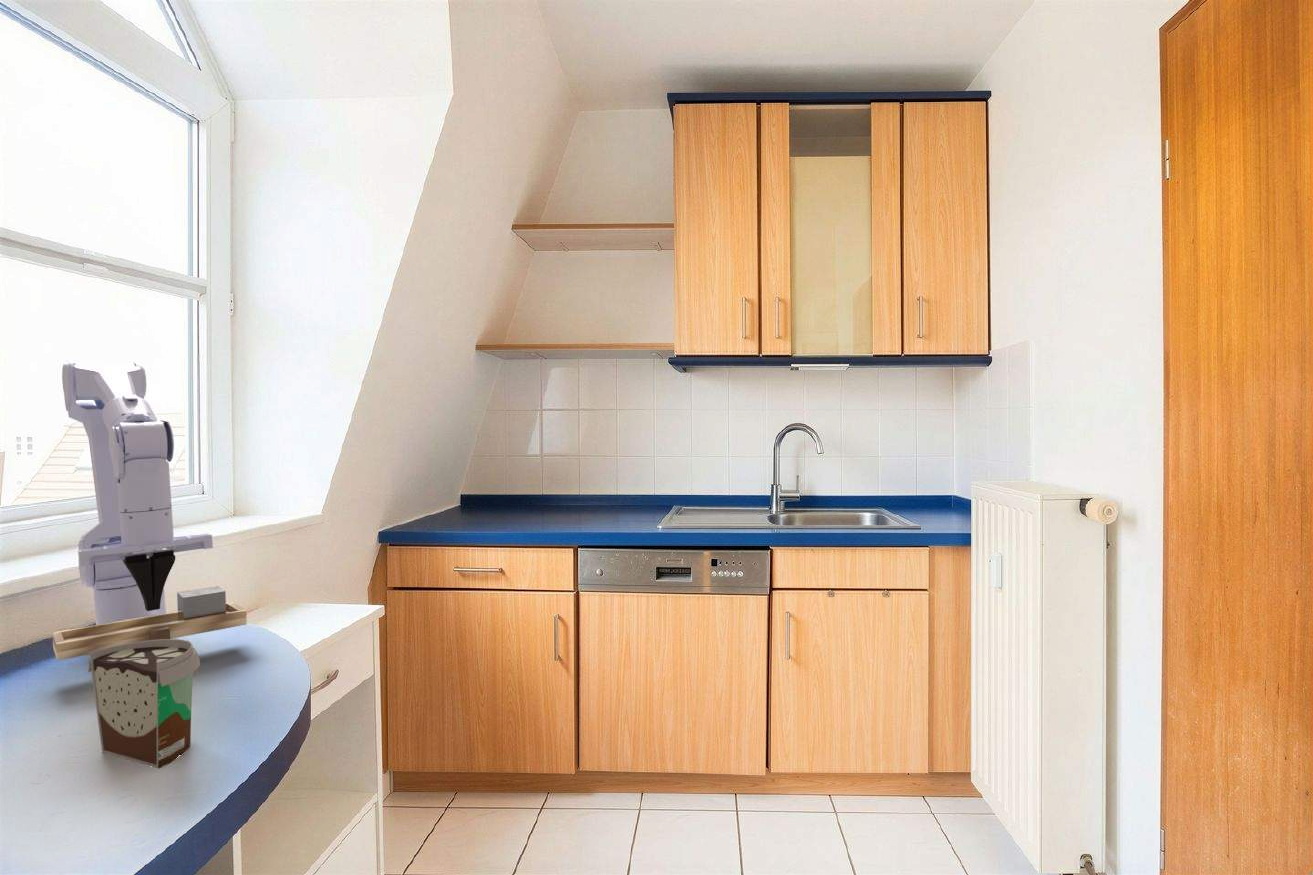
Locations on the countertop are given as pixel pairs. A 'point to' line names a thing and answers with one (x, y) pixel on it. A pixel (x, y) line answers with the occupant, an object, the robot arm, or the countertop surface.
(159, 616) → the beam
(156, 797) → the countertop surface
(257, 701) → the countertop surface
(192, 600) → the block
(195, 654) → the food container
